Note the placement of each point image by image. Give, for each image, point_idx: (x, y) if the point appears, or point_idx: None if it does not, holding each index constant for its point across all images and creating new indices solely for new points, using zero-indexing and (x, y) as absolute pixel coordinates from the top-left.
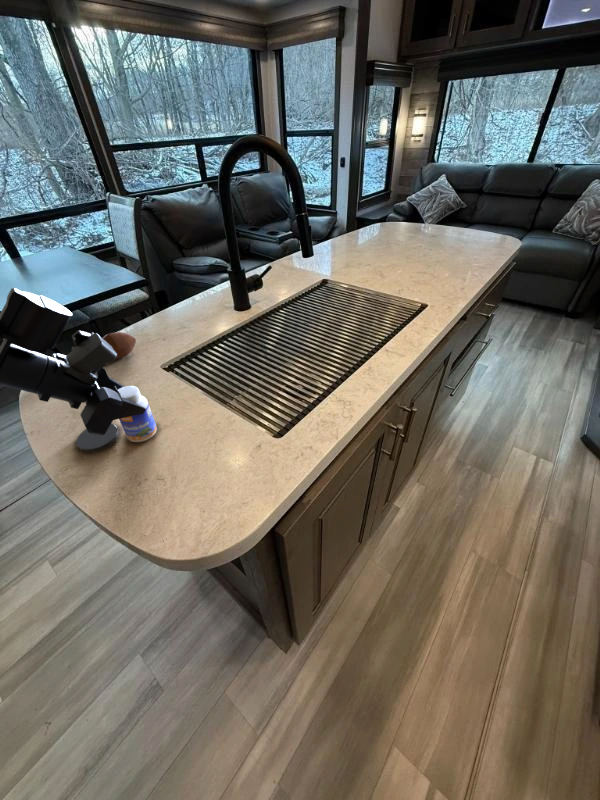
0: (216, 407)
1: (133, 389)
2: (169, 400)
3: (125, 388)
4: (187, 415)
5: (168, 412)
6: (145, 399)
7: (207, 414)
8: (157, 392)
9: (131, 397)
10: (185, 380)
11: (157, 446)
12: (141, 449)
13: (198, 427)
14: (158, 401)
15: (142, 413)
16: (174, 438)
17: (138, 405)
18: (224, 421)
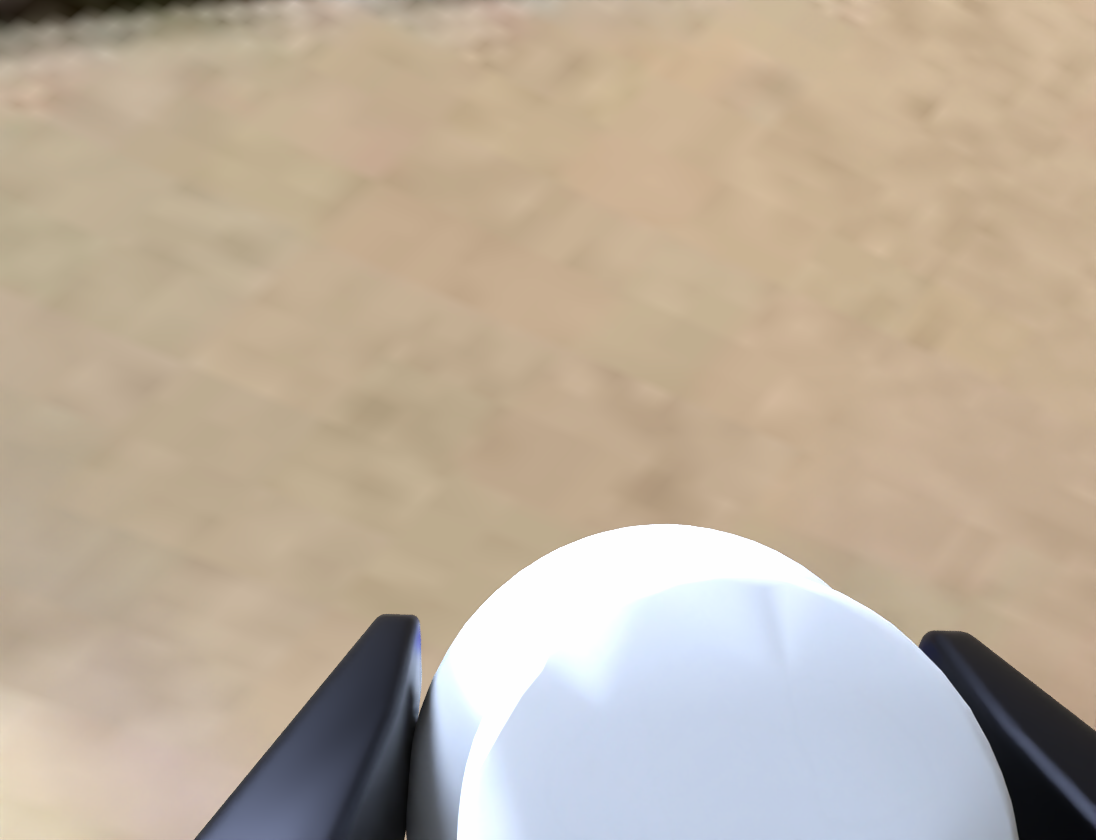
0: (703, 19)
1: (743, 669)
2: (270, 293)
3: (566, 816)
4: (635, 263)
5: (459, 384)
6: (736, 543)
7: (745, 123)
8: (26, 331)
9: (1013, 817)
10: (59, 24)
11: None
12: None
13: (868, 265)
14: (197, 388)
15: None
16: (879, 500)
17: (1082, 741)
18: (931, 64)
